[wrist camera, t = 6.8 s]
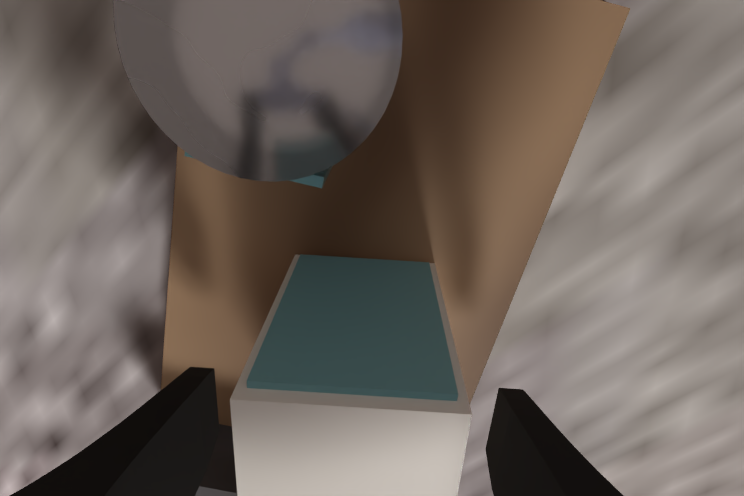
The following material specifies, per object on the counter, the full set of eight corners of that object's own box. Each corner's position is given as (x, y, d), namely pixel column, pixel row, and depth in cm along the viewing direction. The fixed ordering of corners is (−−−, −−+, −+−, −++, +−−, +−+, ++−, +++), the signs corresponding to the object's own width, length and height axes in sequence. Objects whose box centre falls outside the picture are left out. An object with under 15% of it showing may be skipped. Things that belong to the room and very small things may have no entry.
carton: (415, 425, 15) (432, 631, 10) (296, 417, 15) (247, 619, 10) (435, 258, 13) (473, 407, 7) (295, 249, 13) (229, 392, 7)
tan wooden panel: (606, 13, 12) (696, -5, 8) (429, 467, 18) (440, 561, 14) (214, -94, 11) (140, -160, 8) (171, 416, 17) (120, 503, 14)
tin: (413, -24, 10) (438, -90, 6) (372, 152, 12) (365, 212, 7) (238, -72, 10) (115, -180, 5) (219, 115, 12) (110, 154, 7)
